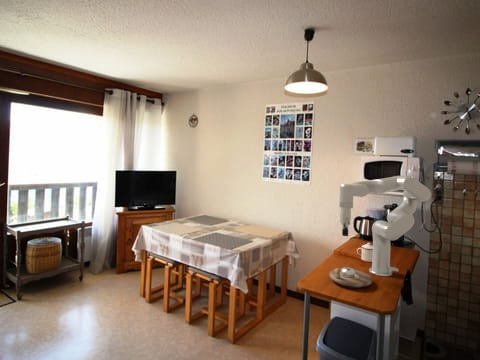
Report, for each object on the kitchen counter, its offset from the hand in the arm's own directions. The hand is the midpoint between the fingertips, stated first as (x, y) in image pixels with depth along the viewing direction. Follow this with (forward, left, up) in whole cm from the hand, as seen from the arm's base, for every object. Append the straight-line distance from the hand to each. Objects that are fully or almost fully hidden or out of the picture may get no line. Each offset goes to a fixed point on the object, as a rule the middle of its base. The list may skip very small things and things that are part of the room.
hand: (345, 235), depth 173 cm
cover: (-1, +12, -20) cm, 23 cm away
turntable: (-2, +12, -21) cm, 24 cm away
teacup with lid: (-18, -32, -23) cm, 43 cm away
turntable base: (-2, +12, -23) cm, 26 cm away
